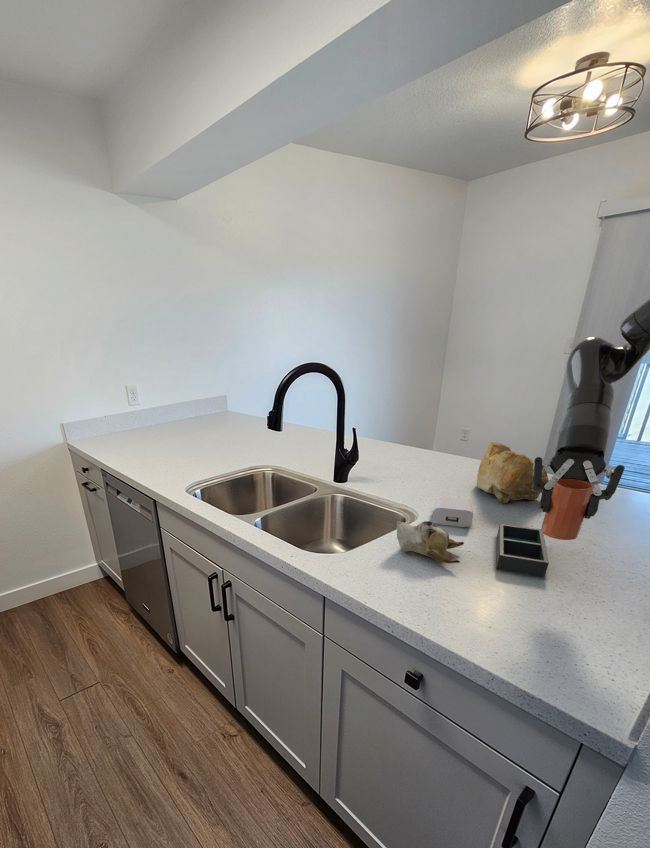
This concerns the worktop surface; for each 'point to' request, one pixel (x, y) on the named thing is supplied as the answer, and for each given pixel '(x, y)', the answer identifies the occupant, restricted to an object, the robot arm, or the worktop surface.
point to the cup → (567, 508)
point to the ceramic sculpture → (427, 541)
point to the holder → (521, 550)
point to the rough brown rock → (507, 474)
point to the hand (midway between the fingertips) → (566, 513)
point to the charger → (453, 511)
